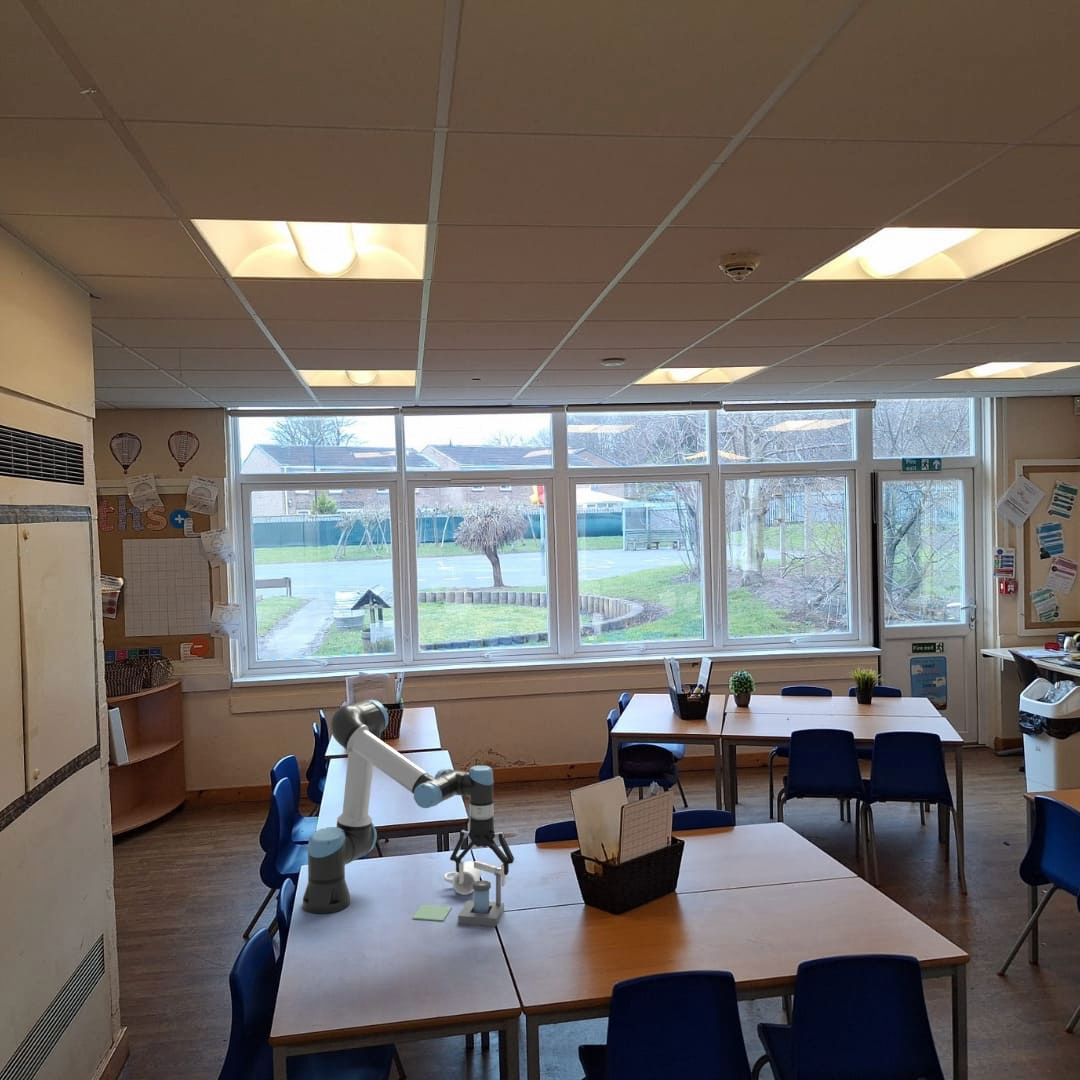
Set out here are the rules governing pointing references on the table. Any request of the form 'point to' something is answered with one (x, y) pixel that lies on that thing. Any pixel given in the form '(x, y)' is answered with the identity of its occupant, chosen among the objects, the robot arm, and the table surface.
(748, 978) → the table surface
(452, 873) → the mug
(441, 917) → the mat
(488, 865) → the lever
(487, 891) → the plug
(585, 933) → the table surface
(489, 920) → the socket
